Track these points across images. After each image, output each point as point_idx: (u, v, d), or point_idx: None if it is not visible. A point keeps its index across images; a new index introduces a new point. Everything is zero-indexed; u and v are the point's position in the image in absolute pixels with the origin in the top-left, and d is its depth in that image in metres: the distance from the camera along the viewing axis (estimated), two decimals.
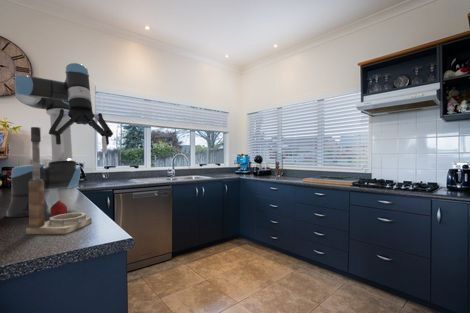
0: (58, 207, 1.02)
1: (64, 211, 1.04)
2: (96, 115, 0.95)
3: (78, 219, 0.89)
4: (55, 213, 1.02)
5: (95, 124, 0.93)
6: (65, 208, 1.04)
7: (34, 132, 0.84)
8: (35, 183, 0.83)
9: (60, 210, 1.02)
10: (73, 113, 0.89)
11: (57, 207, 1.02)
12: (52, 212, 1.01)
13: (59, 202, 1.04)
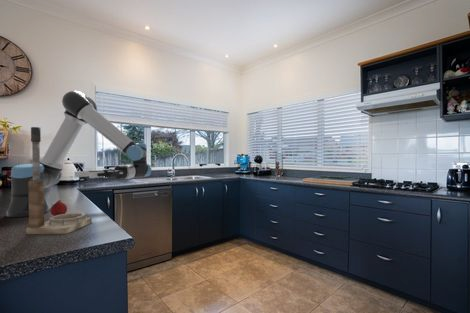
0: (58, 207, 1.02)
1: (64, 211, 1.04)
2: None
3: (78, 219, 0.89)
4: (55, 213, 1.02)
5: None
6: (65, 208, 1.04)
7: (34, 132, 0.84)
8: (35, 183, 0.83)
9: (60, 210, 1.02)
10: None
11: (57, 207, 1.02)
12: (52, 212, 1.01)
13: (59, 202, 1.04)
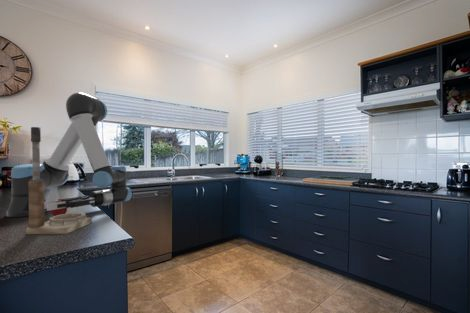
0: None
1: (64, 211, 1.04)
2: None
3: (78, 219, 0.89)
4: (55, 213, 1.02)
5: None
6: (65, 208, 1.04)
7: (34, 132, 0.84)
8: (35, 183, 0.83)
9: (60, 210, 1.02)
10: None
11: None
12: (52, 212, 1.01)
13: None
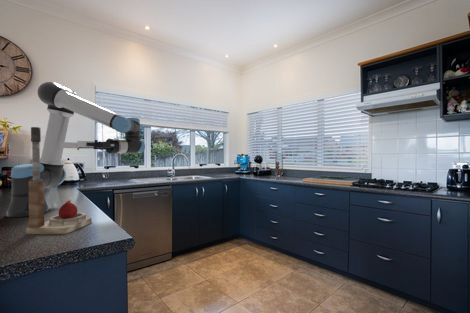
0: (67, 209, 0.89)
1: (74, 213, 0.91)
2: None
3: (78, 219, 0.89)
4: (64, 215, 0.89)
5: None
6: (75, 210, 0.91)
7: (34, 132, 0.84)
8: (35, 183, 0.83)
9: (70, 212, 0.89)
10: None
11: (66, 208, 0.89)
12: (60, 214, 0.89)
13: (68, 203, 0.91)
